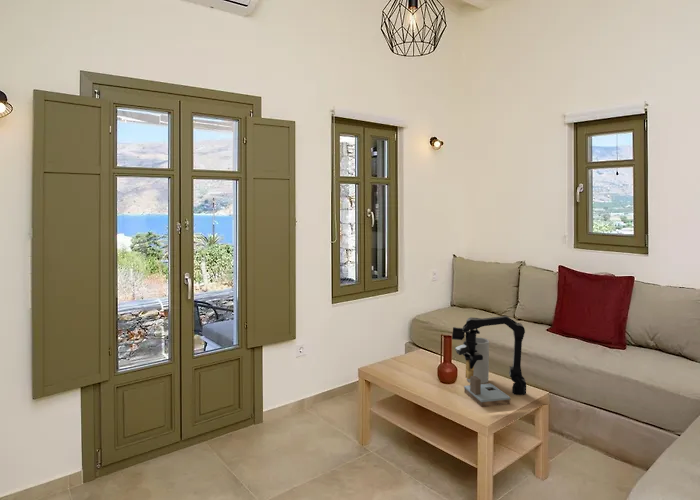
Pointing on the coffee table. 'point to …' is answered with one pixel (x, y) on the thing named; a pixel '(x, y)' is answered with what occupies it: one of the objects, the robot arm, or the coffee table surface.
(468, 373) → the golden wooden block
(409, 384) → the coffee table surface
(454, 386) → the coffee table surface
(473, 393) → the grey plate with hole
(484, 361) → the cylinder vase
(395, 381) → the coffee table surface
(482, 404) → the brown open tray
